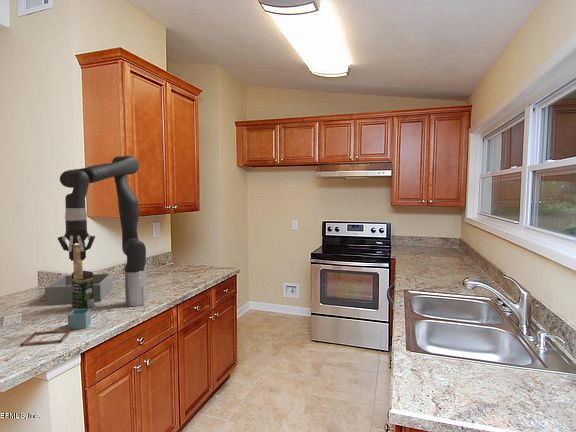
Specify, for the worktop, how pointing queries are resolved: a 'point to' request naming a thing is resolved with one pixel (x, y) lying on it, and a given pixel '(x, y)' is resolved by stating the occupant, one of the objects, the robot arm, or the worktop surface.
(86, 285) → the coffee jar
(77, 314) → the blue open box
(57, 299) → the grey open bin
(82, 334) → the worktop surface
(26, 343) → the tray
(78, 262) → the dowel
